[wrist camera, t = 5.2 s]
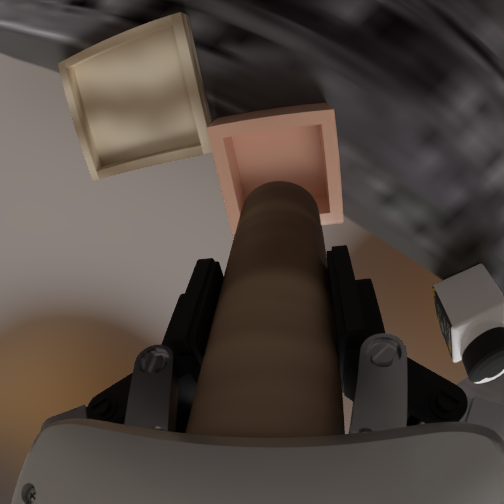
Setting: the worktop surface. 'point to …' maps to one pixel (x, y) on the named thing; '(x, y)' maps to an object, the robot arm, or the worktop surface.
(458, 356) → the medicine bottle
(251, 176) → the pink square box
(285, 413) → the dowel
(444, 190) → the worktop surface
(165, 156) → the tray
